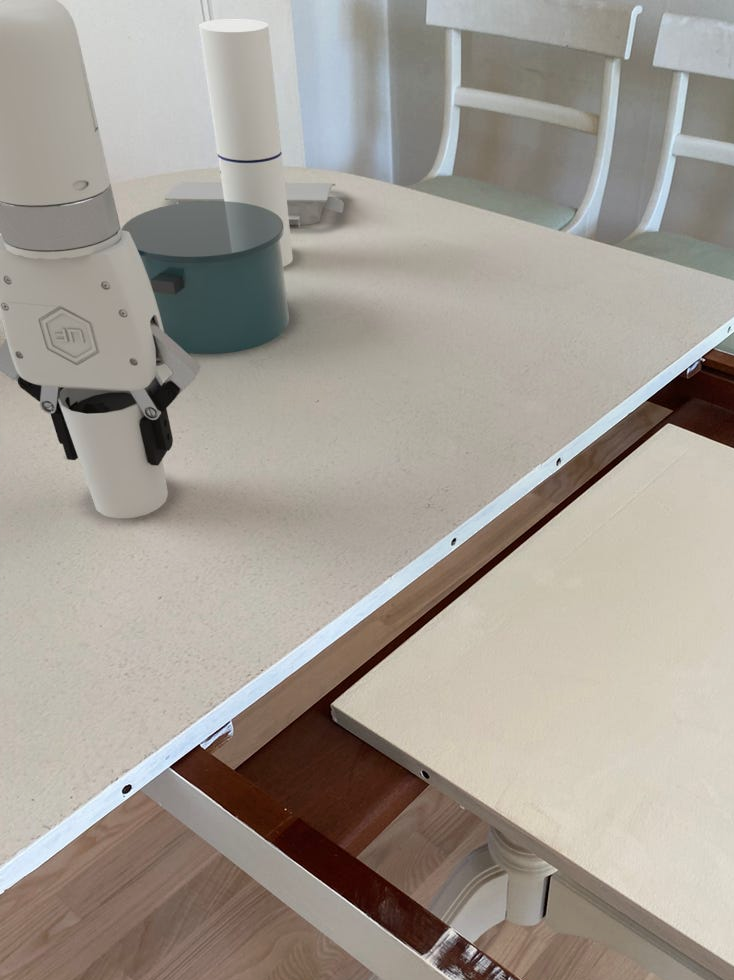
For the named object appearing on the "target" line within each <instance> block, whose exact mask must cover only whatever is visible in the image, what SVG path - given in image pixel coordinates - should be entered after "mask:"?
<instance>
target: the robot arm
mask: <svg viewBox="0 0 734 980" xmlns="http://www.w3.org/2000/svg"><path fill="white" fill-rule="evenodd" d="M86 70H87V69H86V66H85V61H84V56H83V52H82V48H81V43H80V38H79V34H78V31H77V27H76V24H75V21H74V19H73V17H72V15H71V12H70V11H69V10H68V9H67V8H66V6H65V5H63V3H61V2H60V1H59V0H0V317H1V322H2V327H3V331H4V334H5V339H4V341H3V343H2V344H1V345H0V372H1V373H3V374H5V375H6V376H8V377H9V378H10V379H12V380H13V381H16V382H17V385H19V387H20V388H21V389H22V390H23V391H24V392H26V393H27V394H29V395H30V396H31V397H32V398H34V399H35V400H36V401H38V402H39V407H40V409H41V410H42V411H43V412H44V413H46V414H49V415H50V417H51V421H52V425H53V427H54V430H55V434H56V437H57V440H58V443H59V444H61V445H62V448H63V450H64V453H65V457H66V459H67V460H68V461H76V460H79V459H78V456H77V453H76V450H75V447H74V444H73V441H72V439H71V436H70V433H69V430H68V427H67V424H66V421H65V418H64V416H63V413H62V410H61V407H60V404H59V402H58V398H59V396H60V392H61V390H62V389H63V388H79V389H96V390H114V391H130V393H131V395H132V396H133V398H134V399H135V401H136V403H137V404H138V406H139V407H140V409H141V411H142V412H143V414H144V417H142V419H141V420H140V424H139V426H140V431H141V436H142V440H143V444H144V448H145V452H146V456H147V461H148V463H150V464H151V465H157V466H158V465H159V464H160V462H161V460H162V461H163V459H164V457H165V456H166V454H167V452H169V451H171V448H172V447H173V443H174V438H173V433H172V428H171V422H170V419H169V414H168V410H167V408H168V407H169V406H170V405H171V404H172V403H173V402H174V401H175V399H177V397H178V396H179V395H180V394H181V392H183V391H184V390H185V389H186V388H187V387H188V386H189V385H190V384H191V383H192V382H193V381H195V379H196V377H197V376H198V374H199V373H200V371H201V365H200V363H199V362H198V361H196V359H194V358H193V357H192V356H191V355H190V353H187V352H185V351H184V350H183V349H182V348H181V347H180V346H179V345H178V344H177V343H175V342H174V341H173V340H172V339H171V338H170V337H169V336H168V335H167V334H166V333H164V329H163V325H162V321H161V317H160V313H159V310H158V306H157V303H156V299H155V296H154V293H153V290H152V287H151V284H150V281H149V278H148V275H147V272H146V270H145V267H144V264H143V262H142V259H141V257H140V255H139V252H138V250H137V248H136V245H135V243H134V241H133V239H132V237H131V235H130V233H129V232H128V231H123V230H121V229H122V227H121V224H120V219H119V215H118V211H117V205H116V201H115V198H114V192H113V187H112V183H111V179H110V175H109V169H108V165H107V161H106V157H105V152H104V147H103V142H102V138H101V134H100V133H101V132H100V128H99V125H98V120H97V119H98V118H97V115H96V111H95V106H94V101H93V96H92V93H91V87H90V84H89V80H88V79H89V78H88V74H87V71H86ZM164 364H165V365H166V366H167V367H168V368H169V369H170V370H171V371H172V374H171V375H169V376H168V378H167V379H166V380H165V381H164V382H163V380H162V378H161V376H160V375H159V374H158V372H157V367H158V366H161V365H164ZM65 402H66V404H67V405H68V407H69V409H70V410H71V409H72V407H74V406H75V405H76V404H78V402H77V401H76V402H75V403H74V404H72V405H71V406H70V400H69V397H67V398H66V400H65Z"/></svg>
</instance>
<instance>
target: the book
mask: <svg viewBox="0 0 734 980" xmlns="http://www.w3.org/2000/svg"><path fill="white" fill-rule="evenodd" d="M335 186H336V183H334V182H332V183H331V182H285V189H286V198H287V207H288V217H289V226H298V229H299V230H300V229H301V226H302V225H313V224H315V223H318V222H320V221H321V216H322V211H323V209H325V210H329V211H333V212H337V213H339V214H343V213H344V212H343V211H344V207H345V202H344V201H343V200H342V199H340V198H338V197H334V196H333V197H332V196H329V195H330V192H331V190H332V188H333V187H335ZM164 200H165V201H177V202H176V203H175V204H180V203H188V202H199V201H224V194H223V187H222V181H181V182H178V183H177V184H175V185H174V186H173V187H172V188H171V189H170V190H169V191H168V192H167V194H166V195H165V197H164Z"/></svg>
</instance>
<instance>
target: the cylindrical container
mask: <svg viewBox="0 0 734 980" xmlns="http://www.w3.org/2000/svg"><path fill="white" fill-rule="evenodd" d="M198 31H199V38H200V44H201V45H200V46H201V53H202V58H203V64H204V65H203V67H204V71H205V72H204V73H205V78H206V86H207V92H208V99H209V106H210V112H211V118H212V126H213V133H214V139H215V146H216V154H217V161H218V166H219V174H220V179H221V181H220V182H222V187H223V194H224V201H228V202H238V203H245V204H250V205H255V206H259V207H262V208H265V209H268V210H270V211H272V212H274V213H275V214H277V215H278V216H279V217H280V218H281V220H282V221H283V226H284V233H283V236H282V237H281V239H280V243H281V252H282V261H283V268H284V267H286V266H288V265H290V264H291V263H292V262H293V259H294V258H293V257H294V256H293V248H292V247H293V246H292V238H291V229H290V227H291V226H290V225H289V217H288V207H287V198H286V189H285V183H286V181H285V172H284V171H285V170H284V163H283V162H284V161H283V153H282V143H281V134H280V133H281V132H280V124H279V115H278V105H277V95H276V85H275V75H274V68H273V57H272V50H271V39H270V31H269V24H268V23H267V22H266V21H263V20H258V19H253V18H252V19H251V18H219V19H212V20H206V21H203V22H200V23H199V24H198Z"/></svg>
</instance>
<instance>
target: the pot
mask: <svg viewBox="0 0 734 980" xmlns="http://www.w3.org/2000/svg"><path fill="white" fill-rule="evenodd" d="M121 230H123V231H128V232H129V233H130V235H131V237H132V239H133V241H134V243H135V245H136V248H137V250H138V252H139V255H140V257H141V259H142V262H143V264H144V267H145V270H146V272H147V275H148V278H149V281H150V284H151V287H152V290H153V293H154V296H155V299H156V303H157V306H158V310H159V313H160V317H161V321H162V325H163V329H164V333H166V334H167V335H168V336H169V337H170V338H171V339H172V340H173V341H174V342H175V343H177V344H178V345H179V346H180V347H181V348H182V349H183V350H184V351H185V352H187V353H188V354H195V355H219V354H228V353H236V352H241V351H246V350H250V349H253V348H256V347H260V346H263V345H265V344H268V343H269V342H271V341H273V340H275V339H276V338H278V337H280V336H281V335H282V334H283V333H284V332H285V331H286V330H287V328H288V326H289V325H290V324H289V323H290V314H289V306H288V297H287V289H286V288H287V287H286V281H285V280H286V279H285V272H284V270H285V269H284V267H283V261H282V252H281V243H280V239H281V237H282V236H283V233H284V226H283V221H282V220H281V218H280V217H279V216H278V215H277V214H275V213H274V212H272V211H270V210H268V209H265V208H262V207H259V206H255V205H250V204H245V203H238V202H228V201H199V202H188V203H180V204H176V203H175V204H168V205H163V206H160V207H156V208H153V209H150V210H147V211H144V212H142V213H140V214H138V215H136V216H134V217H132V218H131V219H129V220H128V221H126V222H125V224H123V226H122V227H121Z"/></svg>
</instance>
